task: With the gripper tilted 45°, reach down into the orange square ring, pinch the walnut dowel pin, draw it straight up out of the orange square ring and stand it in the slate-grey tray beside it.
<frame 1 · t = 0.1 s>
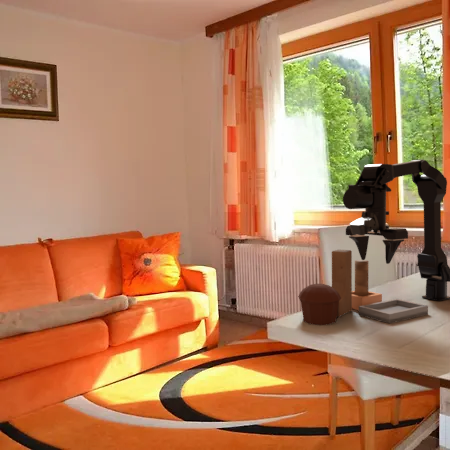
hand: (375, 261, 148), 15 cm above the table, tool pointing down, fingers open, 9 cm apart
wooden block: (338, 313, 149), on the table
tray: (393, 314, 145), on the table
orange square ring: (361, 306, 156), on the table
muffin: (319, 321, 141), on the table
dowel pin: (361, 283, 155), in the orange square ring
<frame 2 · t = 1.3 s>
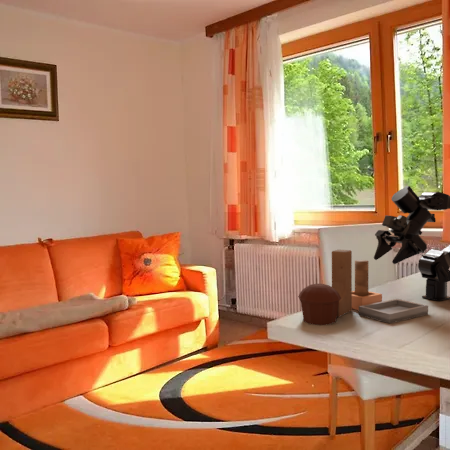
hand: (383, 261, 157), 13 cm above the table, tool tilted 45°, fingers open, 9 cm apart
nothing on the table moved.
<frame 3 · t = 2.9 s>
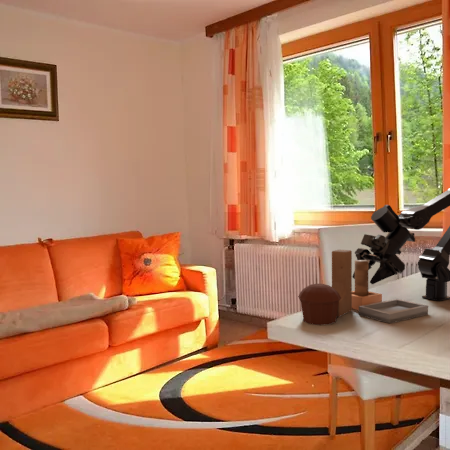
hand: (362, 280, 155), 8 cm above the table, tool tilted 45°, fingers open, 9 cm apart
nothing on the table moved.
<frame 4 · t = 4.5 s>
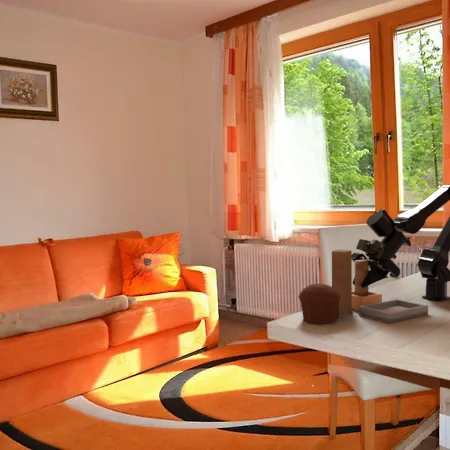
hand: (357, 285, 155), 7 cm above the table, tool tilted 45°, fingers closed on dowel pin, 4 cm apart
dowel pin: (361, 283, 155), in the orange square ring, touching gripper
everything else where it was.
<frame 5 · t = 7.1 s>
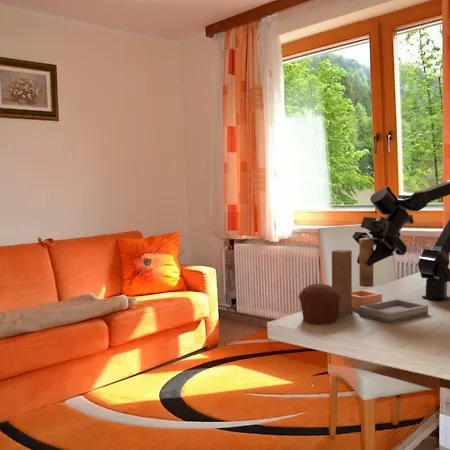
hand: (362, 264, 152), 14 cm above the table, tool tilted 45°, fingers closed on dowel pin, 4 cm apart
dowel pin: (366, 262, 152), point 14 cm above the table, touching gripper
everything else where it was.
when the fingers open (9 cm above the table, at t = 9.7 s): dowel pin drops 1 cm, resting on tray.
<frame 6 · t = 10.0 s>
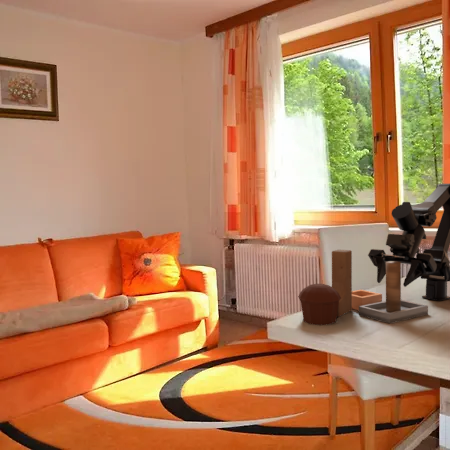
hand: (391, 283, 144), 9 cm above the table, tool tilted 45°, fingers open, 8 cm apart
dowel pin: (393, 286, 144), in the tray, point 8 cm above the table
everything else where it was.
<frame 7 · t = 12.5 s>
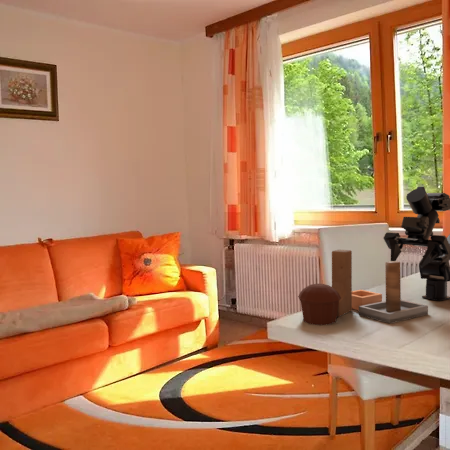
hand: (406, 264, 149), 13 cm above the table, tool tilted 45°, fingers open, 9 cm apart
nothing on the table moved.
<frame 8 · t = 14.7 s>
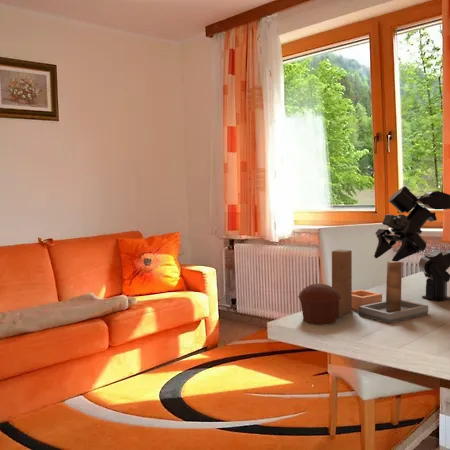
hand: (383, 259, 159), 14 cm above the table, tool tilted 45°, fingers open, 9 cm apart
nothing on the table moved.
at the end: dowel pin inside the target area on the tray (0.0 cm from its centre), point 8.0 cm above the tray's base; the gripper is holding nothing; dowel pin touching tray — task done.
